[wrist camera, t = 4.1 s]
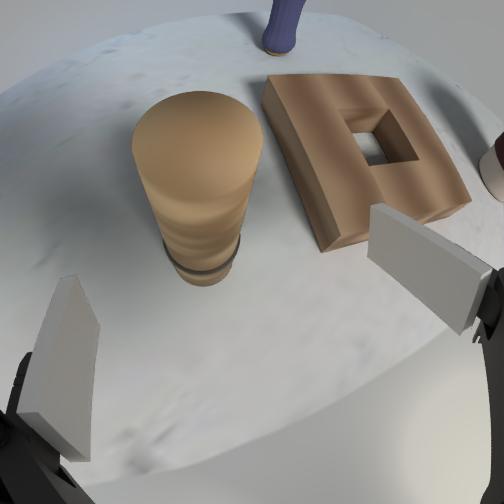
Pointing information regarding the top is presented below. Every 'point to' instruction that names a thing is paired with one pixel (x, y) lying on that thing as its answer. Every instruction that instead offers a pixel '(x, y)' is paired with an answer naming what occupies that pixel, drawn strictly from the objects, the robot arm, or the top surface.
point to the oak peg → (198, 178)
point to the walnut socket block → (359, 153)
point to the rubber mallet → (282, 26)
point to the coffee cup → (494, 168)
